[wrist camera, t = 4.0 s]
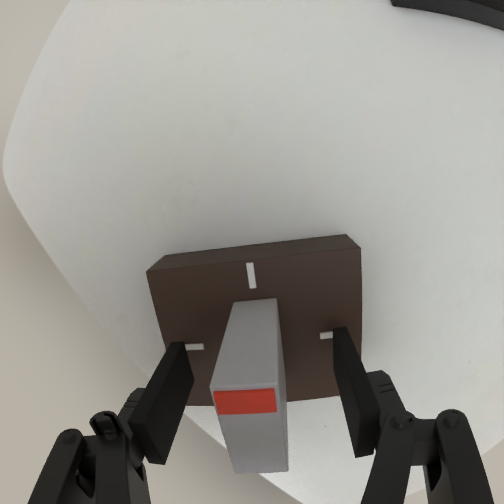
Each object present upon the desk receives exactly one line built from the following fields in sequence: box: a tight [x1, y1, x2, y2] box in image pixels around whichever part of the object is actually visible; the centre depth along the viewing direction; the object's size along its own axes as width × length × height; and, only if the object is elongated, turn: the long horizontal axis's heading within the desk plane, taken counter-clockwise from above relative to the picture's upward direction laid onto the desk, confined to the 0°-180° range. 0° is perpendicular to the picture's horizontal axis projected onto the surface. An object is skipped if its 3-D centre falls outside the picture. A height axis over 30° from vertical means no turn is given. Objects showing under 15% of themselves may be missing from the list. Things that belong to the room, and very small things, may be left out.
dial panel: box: [146, 234, 362, 406], centre depth 20 cm, size 12×10×4 cm
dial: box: [210, 298, 289, 473], centre depth 14 cm, size 6×2×8 cm, turn 8°
